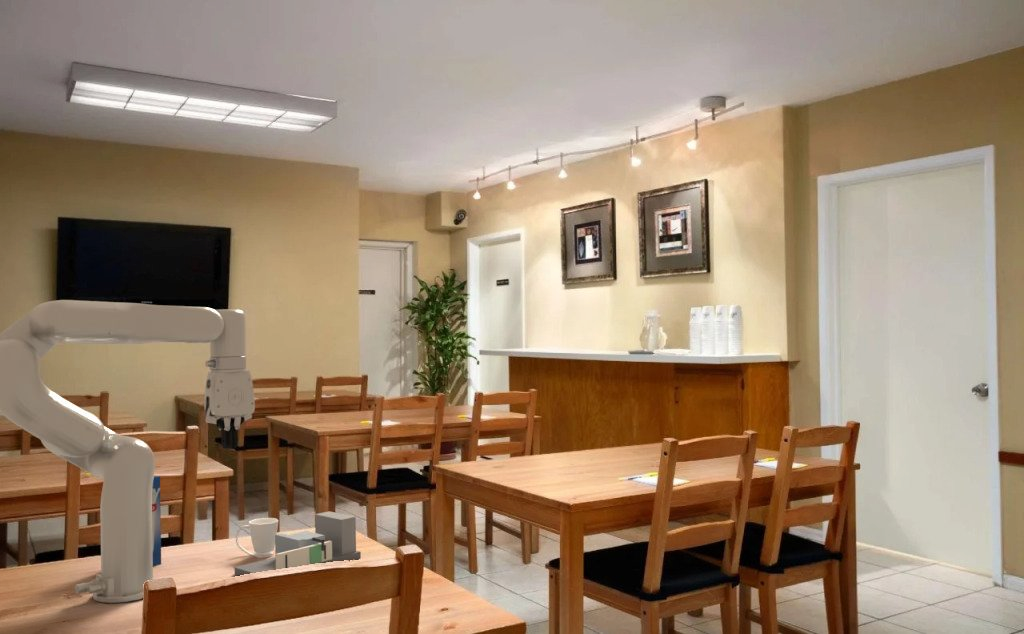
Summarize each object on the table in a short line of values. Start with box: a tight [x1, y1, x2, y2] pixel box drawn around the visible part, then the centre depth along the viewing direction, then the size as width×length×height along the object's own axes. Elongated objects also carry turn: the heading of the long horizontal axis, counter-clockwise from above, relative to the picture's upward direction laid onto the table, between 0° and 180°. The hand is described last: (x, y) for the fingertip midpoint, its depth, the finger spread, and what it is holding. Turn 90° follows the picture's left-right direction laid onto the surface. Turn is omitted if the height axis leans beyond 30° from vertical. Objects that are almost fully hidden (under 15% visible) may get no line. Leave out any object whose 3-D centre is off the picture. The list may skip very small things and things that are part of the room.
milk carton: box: [152, 475, 162, 567], centre depth 190 cm, size 10×6×20 cm, turn 146°
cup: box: [235, 517, 279, 559], centre depth 198 cm, size 7×10×8 cm
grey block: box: [274, 530, 325, 558], centre depth 188 cm, size 8×12×5 cm, turn 49°
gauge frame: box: [234, 510, 362, 576], centre depth 188 cm, size 25×12×10 cm, turn 139°
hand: (229, 447), depth 186 cm, fingers closed
